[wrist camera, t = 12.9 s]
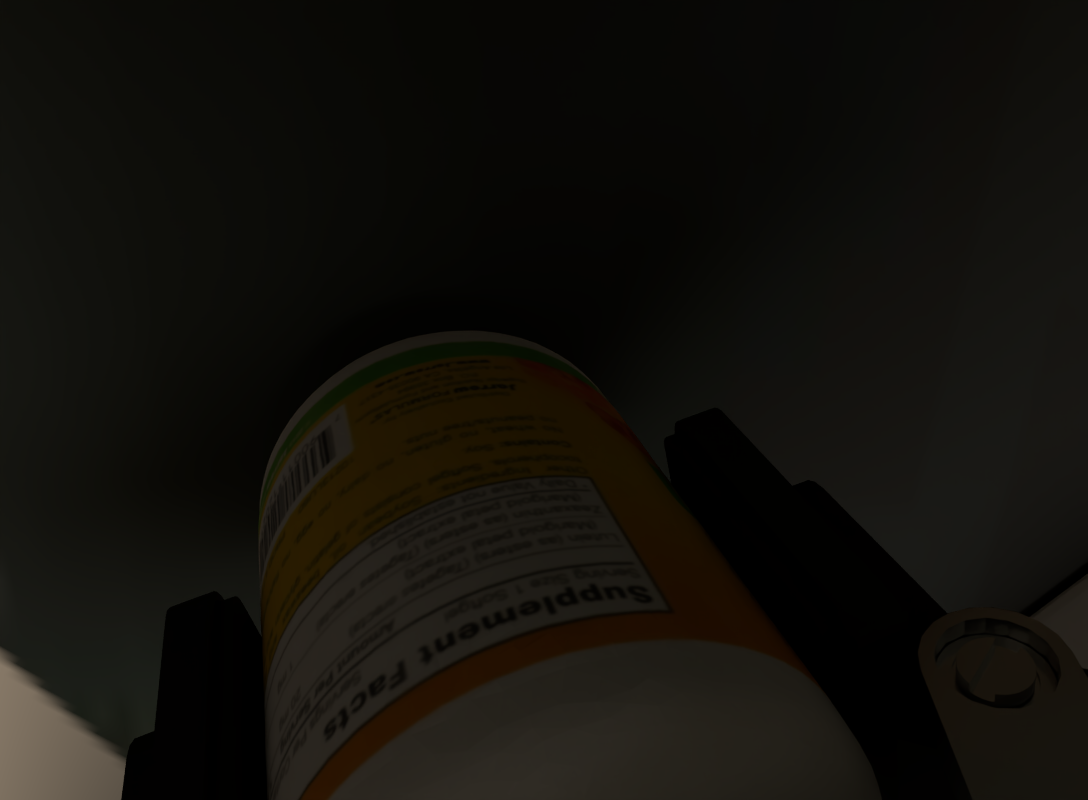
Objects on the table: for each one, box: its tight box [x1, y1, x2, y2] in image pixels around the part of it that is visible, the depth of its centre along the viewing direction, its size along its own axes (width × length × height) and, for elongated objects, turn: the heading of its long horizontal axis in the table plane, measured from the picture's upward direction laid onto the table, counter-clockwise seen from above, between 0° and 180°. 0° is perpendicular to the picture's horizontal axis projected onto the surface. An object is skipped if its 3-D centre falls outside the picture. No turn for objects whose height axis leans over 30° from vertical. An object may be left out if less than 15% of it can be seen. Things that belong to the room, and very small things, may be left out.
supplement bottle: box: [258, 330, 882, 800], centre depth 9 cm, size 5×5×10 cm
